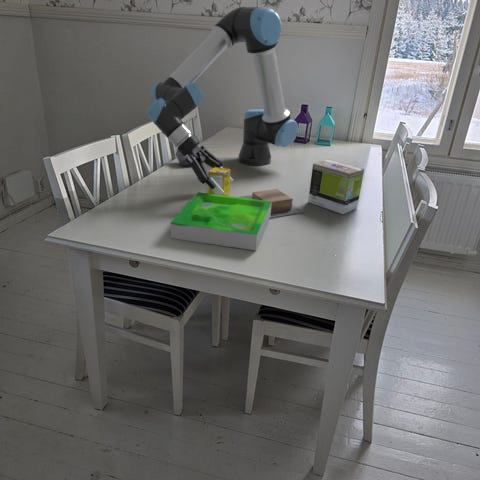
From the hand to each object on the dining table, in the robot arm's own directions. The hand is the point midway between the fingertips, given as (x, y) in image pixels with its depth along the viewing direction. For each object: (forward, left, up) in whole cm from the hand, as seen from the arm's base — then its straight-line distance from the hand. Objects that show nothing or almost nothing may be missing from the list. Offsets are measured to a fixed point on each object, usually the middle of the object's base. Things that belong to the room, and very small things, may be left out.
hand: (226, 188), depth 147 cm
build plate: (+9, +12, -4) cm, 16 cm away
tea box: (+17, +34, -5) cm, 39 cm away
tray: (+19, -10, -4) cm, 22 cm away
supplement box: (-2, -2, -5) cm, 5 cm away
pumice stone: (-44, +2, -5) cm, 44 cm away
